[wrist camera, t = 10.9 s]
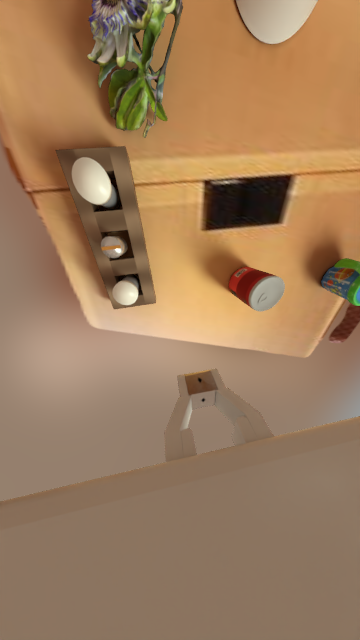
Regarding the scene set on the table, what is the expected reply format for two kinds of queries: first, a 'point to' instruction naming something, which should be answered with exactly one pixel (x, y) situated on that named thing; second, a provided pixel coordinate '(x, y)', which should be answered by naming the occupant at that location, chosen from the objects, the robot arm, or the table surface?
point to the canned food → (256, 288)
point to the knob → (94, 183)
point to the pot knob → (113, 246)
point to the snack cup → (344, 280)
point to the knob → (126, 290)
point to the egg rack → (113, 220)
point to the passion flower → (131, 55)
